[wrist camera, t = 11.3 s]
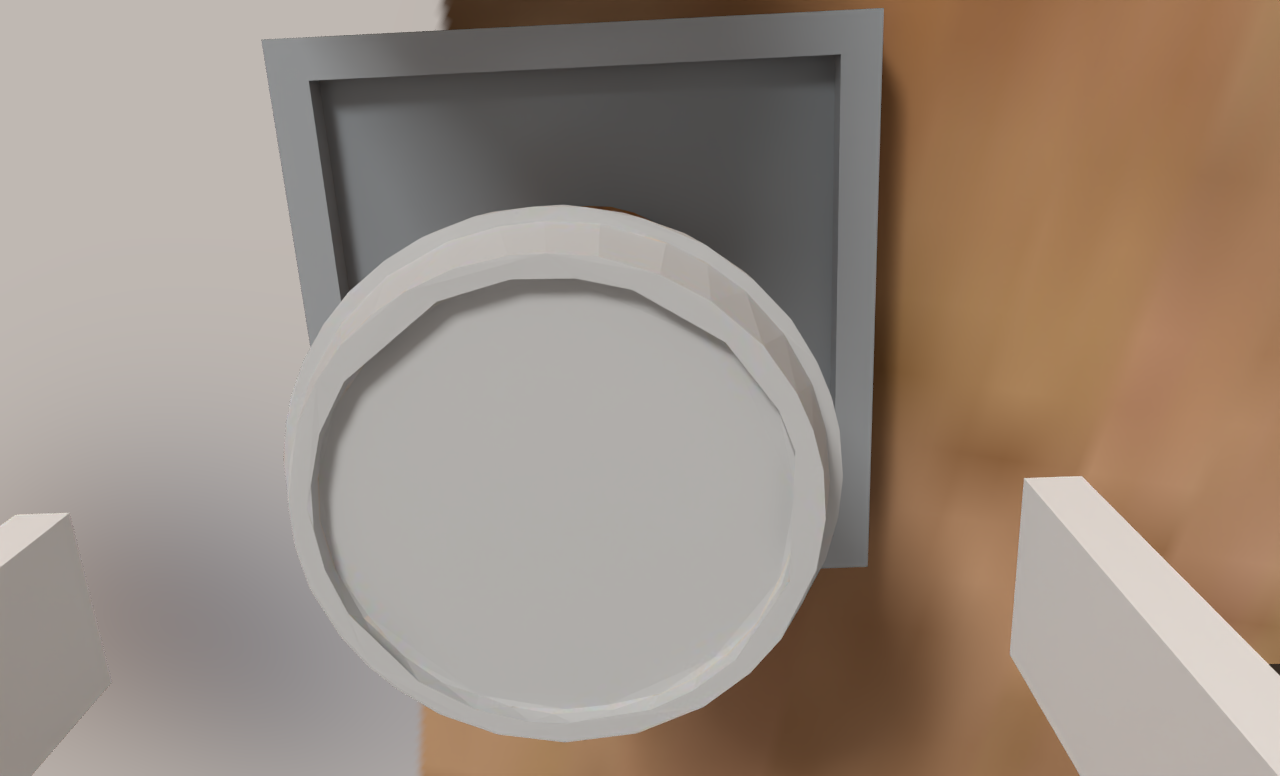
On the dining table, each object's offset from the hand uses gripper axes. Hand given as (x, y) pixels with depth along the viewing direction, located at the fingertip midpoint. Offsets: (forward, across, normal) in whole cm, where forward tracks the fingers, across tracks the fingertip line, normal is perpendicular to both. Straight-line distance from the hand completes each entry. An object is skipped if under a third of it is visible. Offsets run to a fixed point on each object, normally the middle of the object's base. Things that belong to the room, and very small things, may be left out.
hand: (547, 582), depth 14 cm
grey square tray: (+16, 0, 0) cm, 16 cm away
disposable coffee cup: (+14, 0, 0) cm, 14 cm away
